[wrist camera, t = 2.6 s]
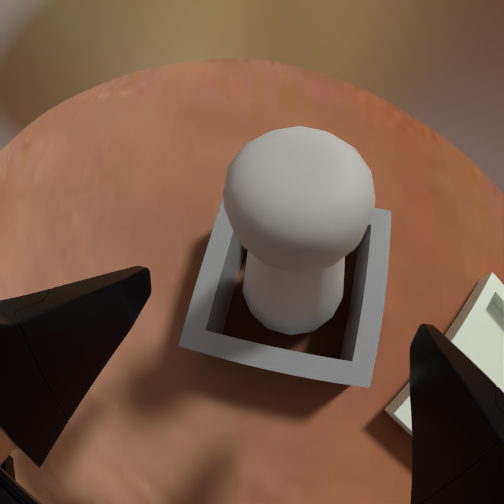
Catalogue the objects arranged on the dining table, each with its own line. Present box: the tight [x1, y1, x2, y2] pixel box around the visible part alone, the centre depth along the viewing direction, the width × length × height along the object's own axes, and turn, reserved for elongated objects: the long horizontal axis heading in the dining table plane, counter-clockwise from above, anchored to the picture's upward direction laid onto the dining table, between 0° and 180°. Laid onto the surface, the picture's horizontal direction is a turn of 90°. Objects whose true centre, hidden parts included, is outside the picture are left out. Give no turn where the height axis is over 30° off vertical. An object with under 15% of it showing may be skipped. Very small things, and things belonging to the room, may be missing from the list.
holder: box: [178, 200, 391, 388], centre depth 17 cm, size 10×10×4 cm
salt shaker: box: [223, 126, 375, 335], centre depth 13 cm, size 6×6×13 cm
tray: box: [384, 272, 504, 436], centre depth 14 cm, size 12×12×2 cm
